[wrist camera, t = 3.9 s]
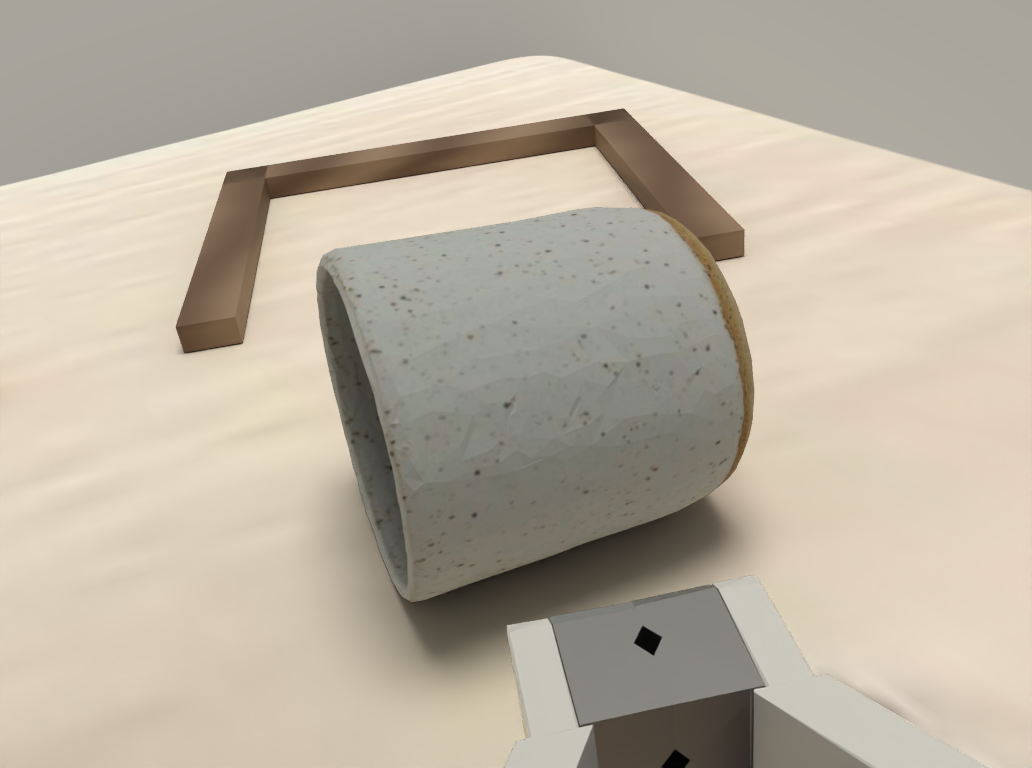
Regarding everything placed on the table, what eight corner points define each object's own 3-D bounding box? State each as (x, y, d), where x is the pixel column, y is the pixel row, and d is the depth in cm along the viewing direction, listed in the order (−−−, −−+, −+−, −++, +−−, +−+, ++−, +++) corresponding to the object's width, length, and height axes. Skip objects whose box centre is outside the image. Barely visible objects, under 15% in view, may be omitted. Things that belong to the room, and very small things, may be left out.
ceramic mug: (777, 547, 21) (785, 225, 18) (433, 682, 19) (356, 347, 15) (576, 355, 30) (552, 111, 26) (324, 433, 28) (257, 179, 24)
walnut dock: (184, 352, 33) (175, 327, 32) (232, 191, 47) (226, 171, 47) (743, 255, 34) (744, 229, 34) (624, 127, 49) (623, 108, 48)
